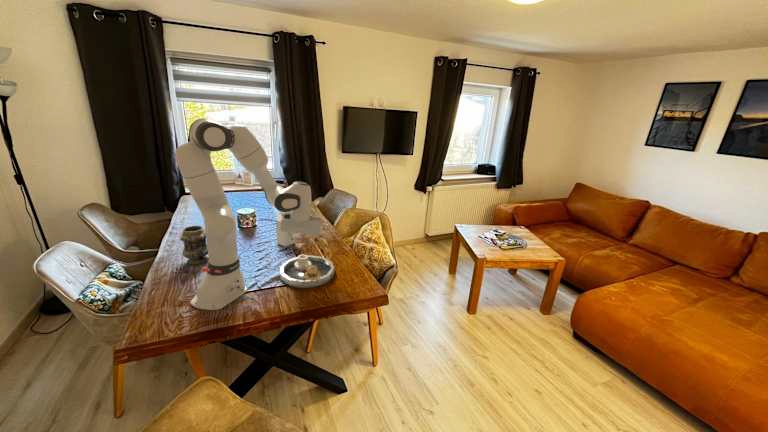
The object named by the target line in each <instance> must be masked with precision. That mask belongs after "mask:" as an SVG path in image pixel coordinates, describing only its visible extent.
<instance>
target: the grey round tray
mask: <svg viewBox="0 0 768 432" xmlns="http://www.w3.org/2000/svg"><path fill="white" fill-rule="evenodd" d="M307 256H308V261H310V262H311V265H310V266H309V264H306V266H305V270H304V271H303V270H302V271H300V270H297V269H295V268H294V263H295V262H296V261H298V260H297V257H298V256H297V257H293V258H290V259H287V260H286V261H285V262H283V264H282V265H281V266H280V267H279V270H280V271H279V278H280V281H281V282H282V283H283V284H284V285H286V286H287V287H288V286H289V287H291V288H296V289H312V288H317V287H320V286H323V285H326V284H327V283H329V282H330V281H331V280H332V279H333V278H334V276H335V275H334V274H335V266H334V264H333V261H331V260H330V259H328V258H326V257H324V256H319V255H317V256H316V255H307Z"/></svg>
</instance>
